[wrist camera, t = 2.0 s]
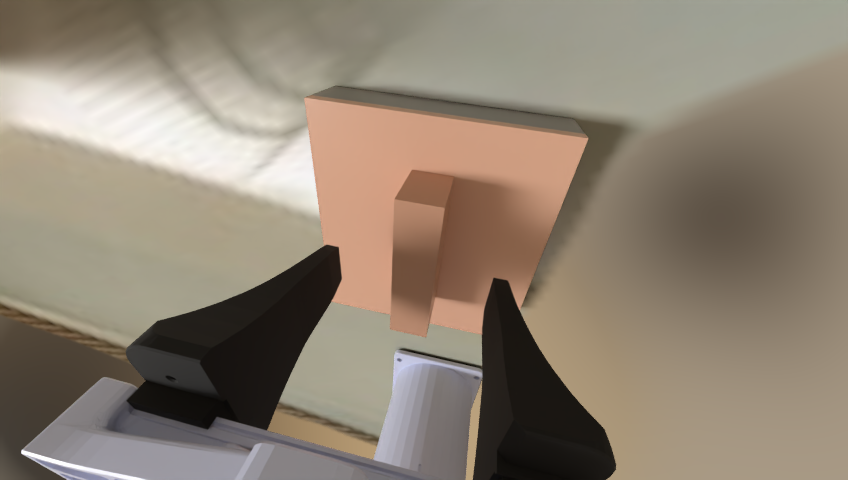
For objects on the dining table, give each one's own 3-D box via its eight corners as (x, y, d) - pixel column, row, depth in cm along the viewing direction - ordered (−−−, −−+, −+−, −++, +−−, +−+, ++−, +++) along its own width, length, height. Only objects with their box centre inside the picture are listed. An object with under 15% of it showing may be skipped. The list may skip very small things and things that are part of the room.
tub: (506, 304, 22) (507, 332, 20) (349, 272, 24) (335, 295, 22) (573, 118, 15) (585, 133, 13) (334, 85, 16) (311, 95, 14)
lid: (507, 323, 21) (508, 384, 17) (340, 287, 22) (309, 337, 19) (581, 128, 13) (610, 167, 10) (319, 91, 15) (261, 114, 11)
